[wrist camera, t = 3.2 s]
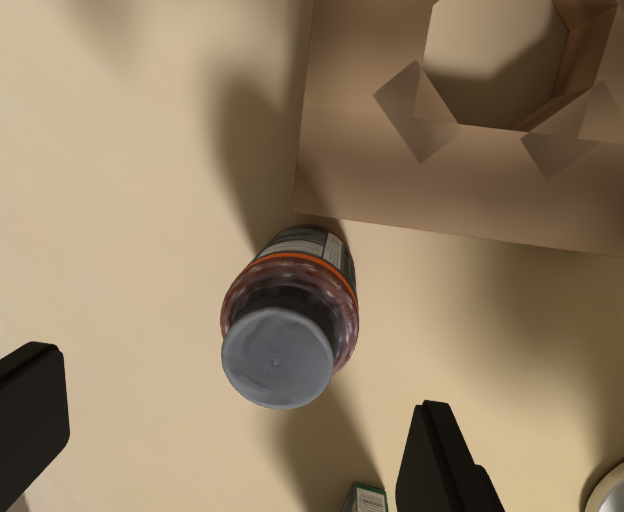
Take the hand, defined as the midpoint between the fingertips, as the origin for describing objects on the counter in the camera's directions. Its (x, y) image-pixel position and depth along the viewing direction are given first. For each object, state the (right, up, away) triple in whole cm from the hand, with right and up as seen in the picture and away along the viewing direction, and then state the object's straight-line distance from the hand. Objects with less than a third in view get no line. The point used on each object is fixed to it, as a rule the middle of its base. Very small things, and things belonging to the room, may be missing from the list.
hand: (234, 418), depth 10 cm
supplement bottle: (+2, +4, +14) cm, 15 cm away
